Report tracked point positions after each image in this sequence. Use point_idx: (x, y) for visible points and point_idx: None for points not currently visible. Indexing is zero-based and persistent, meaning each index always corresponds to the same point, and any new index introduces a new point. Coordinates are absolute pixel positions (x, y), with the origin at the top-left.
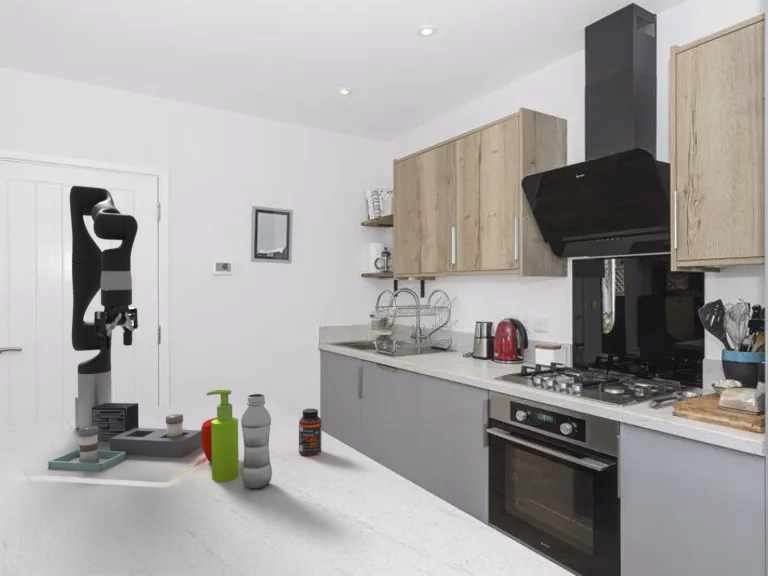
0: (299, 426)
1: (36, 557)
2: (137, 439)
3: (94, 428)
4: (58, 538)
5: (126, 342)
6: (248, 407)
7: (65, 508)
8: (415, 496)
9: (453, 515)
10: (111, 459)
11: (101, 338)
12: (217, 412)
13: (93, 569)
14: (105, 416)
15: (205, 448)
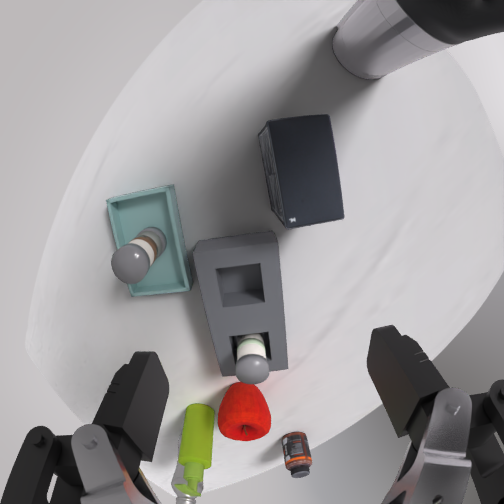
0: (290, 458)
1: (36, 356)
2: (206, 308)
3: (130, 282)
4: (50, 353)
5: (376, 359)
6: (179, 495)
7: (68, 322)
8: (222, 483)
9: (206, 489)
10: (153, 294)
11: (97, 420)
12: (185, 470)
13: (55, 391)
14: (271, 164)
15: (222, 400)
